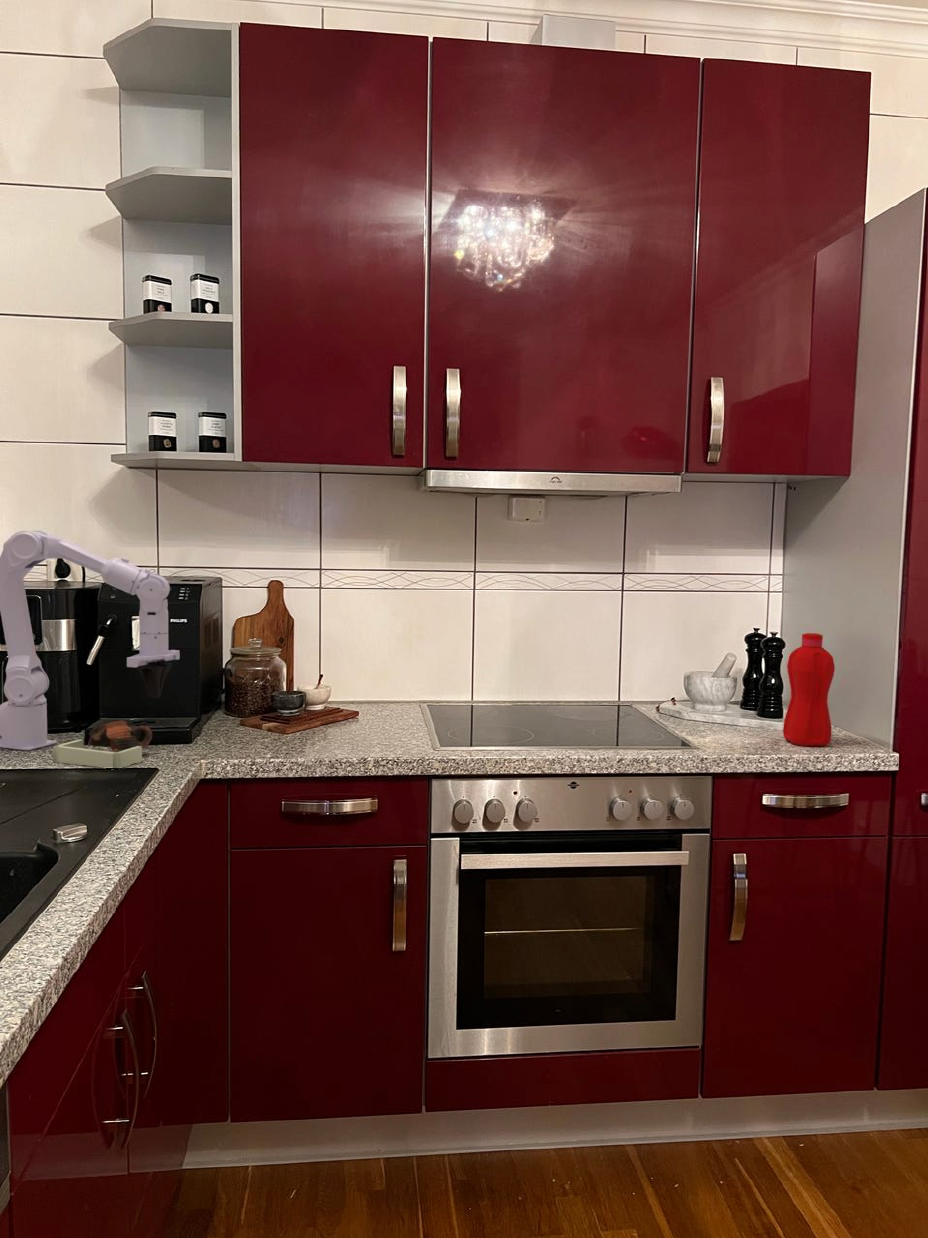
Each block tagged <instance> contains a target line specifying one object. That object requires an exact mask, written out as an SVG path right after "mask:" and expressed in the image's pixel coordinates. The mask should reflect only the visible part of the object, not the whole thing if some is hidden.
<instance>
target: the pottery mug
mask: <svg viewBox="0 0 928 1238" xmlns="http://www.w3.org/2000/svg"><path fill="white" fill-rule="evenodd" d="M141 734H145V736H144V738H143V740H142V741H140V740H139V738H140V737H141ZM88 735H89V736H90V737H89V740H88V742H87V743H88V744H87V745H88V747H91V746H92V747H95V748H97V747H102V748H103V747H104V748H111V750H110V751H109V752H120V751H123V750H126V749H130V748H133V747H136V746H142V749H143V748H144V747H148V746H149V744H150V742H151V741H152V739H153V735H154V734H153V732H152V730H151V728H150V727H149V726H147V725H144V724H143V725H138V726H134V727H130V726H128V722H127V721H125V720H118V721H116V720H115V721H110V722H107V723H105V724H101V725H99V726H97V727H96V726H95V727H94V728H93V729H91V730H90V731H89V733H88Z"/></svg>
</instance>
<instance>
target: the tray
mask: <svg viewBox="0 0 928 1238" xmlns="http://www.w3.org/2000/svg"><path fill="white" fill-rule="evenodd" d="M52 756H53V757H52V758H53V761H52V762H54V763H58V764H59V763H60V764H61V763H62V764H66V763H68V765H74V764H78V765H77V766H82V765H94V766H101V767H113V768H119V767H125V766H128V767H130V766H129V765H131V764H134V763H137V764H139V763H138V762H140V763H141V761H142V762H143V748H142V746H136V747H133V748H130V749H126V750H123V751H120V752H110V751H106V750H100V749H99V750H98V749H89V748H84V739H80V738H79V739H77V740H75V739H74V740H72V741H69V742H64V743H62V744H58V745H54V746H52ZM134 765H135V764H134ZM131 766H132V765H131ZM125 768H126V767H125Z"/></svg>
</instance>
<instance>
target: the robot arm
mask: <svg viewBox="0 0 928 1238" xmlns="http://www.w3.org/2000/svg"><path fill="white" fill-rule="evenodd" d="M2 547H3V548H2V551H1V554H0V616H1V623H2V628H3V634H4V639H5V646H6V651H7V652H6V653H7V656H8V661H7V664H6V667H5V675H6V677H5V682H4V685H3V693H4V695H5V698H7V701H4V702H3V703H1V704H0V748H2V749H3V748H4V749H12V750H13V749H14V750H21V751H32V750H36V749H40V748H43V747H47V746H50V745H54V744H58V741H57V740H53V739H48V715H47V714H48V709H47V707H48V706H47V705H48V703H47V698H46V697H45V695H44V694H45V693H46V692H47V691H48V689H49V686H50V680H49V677H48V675H47V673H46V672H45V670H44V668H43V667H42V661H41V659H40V658H39V657H38V655H37V652H36V646H35V641H34V634H33V628H32V623H31V617H30V611H29V605H28V599H27V594H26V588H25V587H26V586H25V582H24V579H25V577H26V576H27V575H28V574H29V573H30V571H31V570H32V569H33V568H34V567H36V566H37V565H39V564H41V563H43V562H45V561H46V560H49V559H63V560H66V561H68V562H70V563H73V564H75V565H78V566H81V567H83V568H86V569H88V570H91V571H93V572H95V573H97V574H100V575H101V578H102V580H103V582H104V583H105V584H107V585H110V586H111V587H114V588H116V589H119V590H121V591H123V592H125V593H127V594H129V595H131V596H134V595H136V596H137V598H138V599H139V612H138V614H139V615H138V617H139V618H138V619H139V623H138V625H139V627H138V628H139V630H138V631H139V640H138V641H139V653H137V654H135V655H132V656H129V657H126V667H127V668H136V670H137V671H138V672H139V675H140V676H141V678H142V680H143V683H144V686H145V689H146V694H147V697H148V698H149V699H159V698H161V695H162V693H163V688H164V684H165V681H166V678H167V676H168V674H169V672H170V670H171V668H172V662H169V661H173V660H174V661H176V660H177V661H178V660H180V657H181V656H180V650H177V649H170V650H169V610H168V606H169V604H168V603H169V602H168V598H167V597H168V596H169V594H170V592H171V591H170V589H171V587H170V584H169V582H168V580H167V578H165V577H164V576H162V575H161V574H160V573H152V574H151V571H152V570H151V569H149V568H145V569H144V568H141V567H138V566H137V565H135V564H132V563H130V559H129V558H126V557H124V556H123V557H122V558H119V557H113V558H111V559H106V558H104V557H103V556H100V555H98V554H96V553H93V552H92V551H90V550H88V549H85V548H84V547H82V546H80V545H78V544H76V543H73V542H71V541H69V540H67V539H64V538H62V537H59V536H57V535H53V534H48V533H46V532H44V531H41V530H32V531H30V530H20V531H16V532H15V533H13V534H12V535H11V536H10V537H9V538H8V539H7V540H5V542H3V546H2Z"/></svg>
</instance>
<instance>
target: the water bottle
mask: <svg viewBox="0 0 928 1238" xmlns="http://www.w3.org/2000/svg"><path fill="white" fill-rule="evenodd" d="M823 637H824V636H823V634H820V633H818V632H816V633H815V632H809V633H808V632H806V633H803V634H801V646H799V647H797V648H795V649H794V650H792V651H791V653H790V654H789V656H788V658H787V659H788V660H787V665H786V668H787V669H786V670H787V674H788V680H789V687H790V700H789V703H788V706H787V711H786V713H785V717H784V721H783V727H782V728H783V729H782V733H783V734H782V735H783V738H784V739H785V740H786V741H787V740H788V742H789V741H790V743H792V744H793V745H796V746H799V747H800V746H801V747H826V746H828V745H829V744H830V742H831V739H832V721H831V716H830V709H829V704H828V697H829V691H830V688H831V685H832V682H833V679H834V675H835V671H836V670H835V669H836V666H835V662H834V661H835V660H834V657H833V656H832V655H831V653H830V652H829V651H828V650H826V649H825V648H823V639H824V638H823Z"/></svg>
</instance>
